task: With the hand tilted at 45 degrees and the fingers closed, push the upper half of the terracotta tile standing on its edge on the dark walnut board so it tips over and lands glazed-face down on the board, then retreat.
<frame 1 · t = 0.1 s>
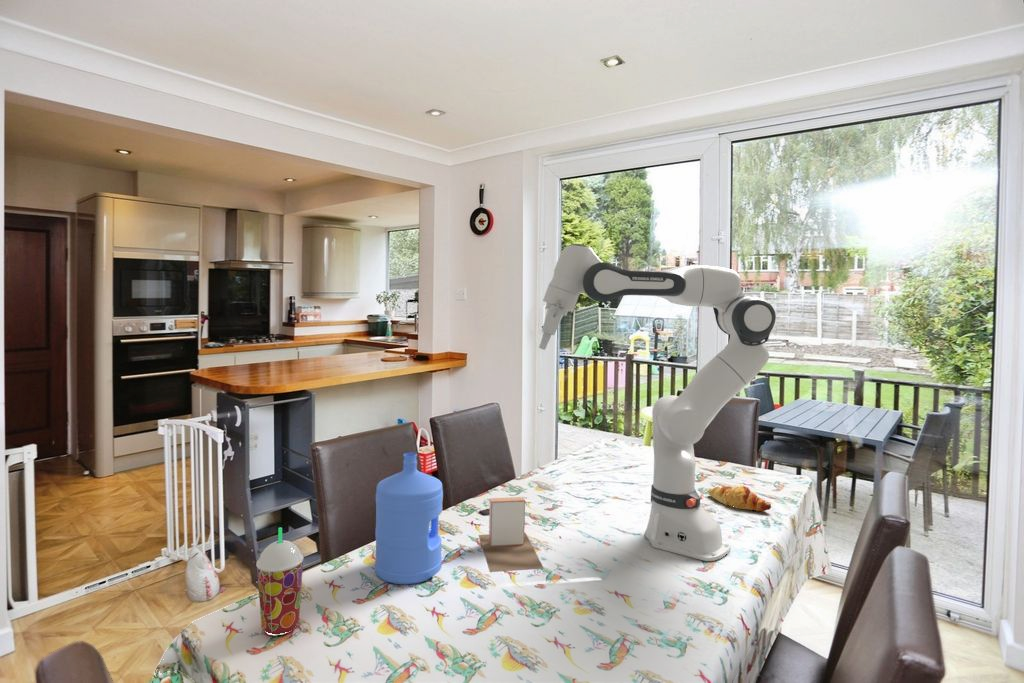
hand: (542, 347, 154), 52 cm above the table, tool tilted 20°, fingers open, 8 cm apart
water jug: (408, 570, 133), on the table
walnut board: (509, 553, 143), on the table
croissant: (738, 505, 183), on the table
terracotta tile: (506, 543, 146), point 1 cm above the table, touching walnut board
chocolate bar: (508, 520, 166), on the table
smoothie: (280, 629, 108), on the table
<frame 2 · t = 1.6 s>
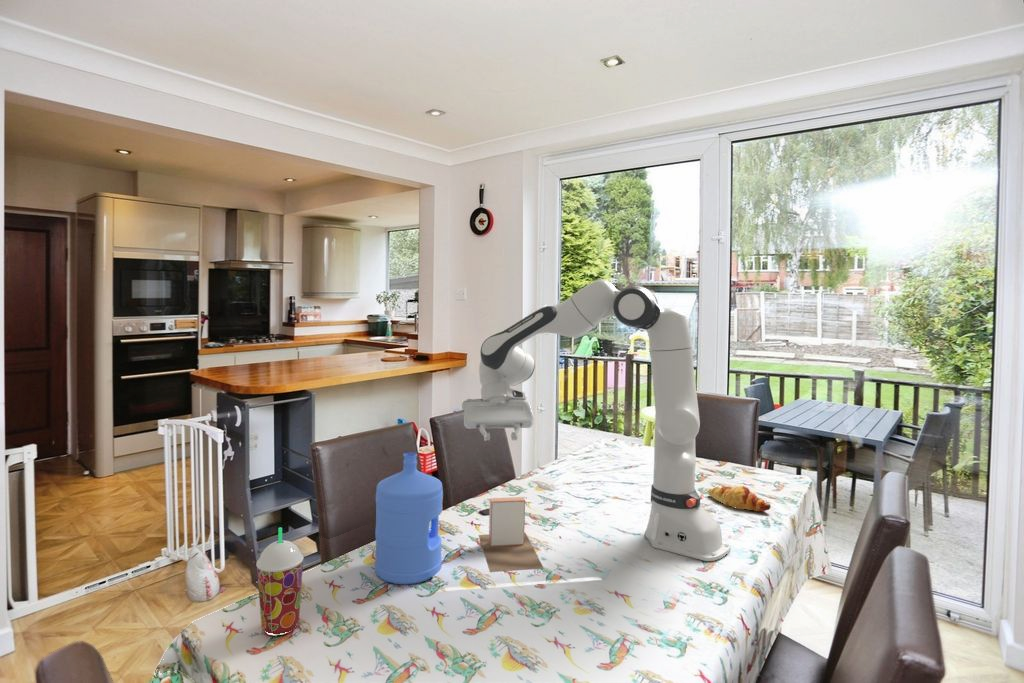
hand: (501, 439, 157), 26 cm above the table, tool tilted 45°, fingers open, 6 cm apart
nothing on the table moved.
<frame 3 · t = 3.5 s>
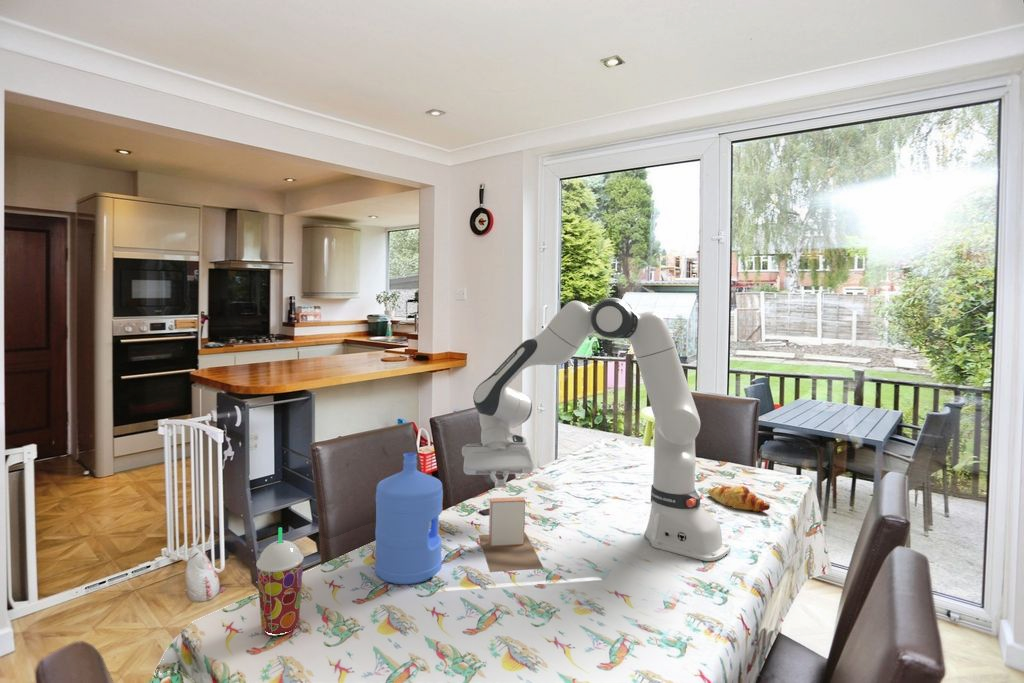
hand: (500, 486, 156), 13 cm above the table, tool tilted 45°, fingers closed
nothing on the table moved.
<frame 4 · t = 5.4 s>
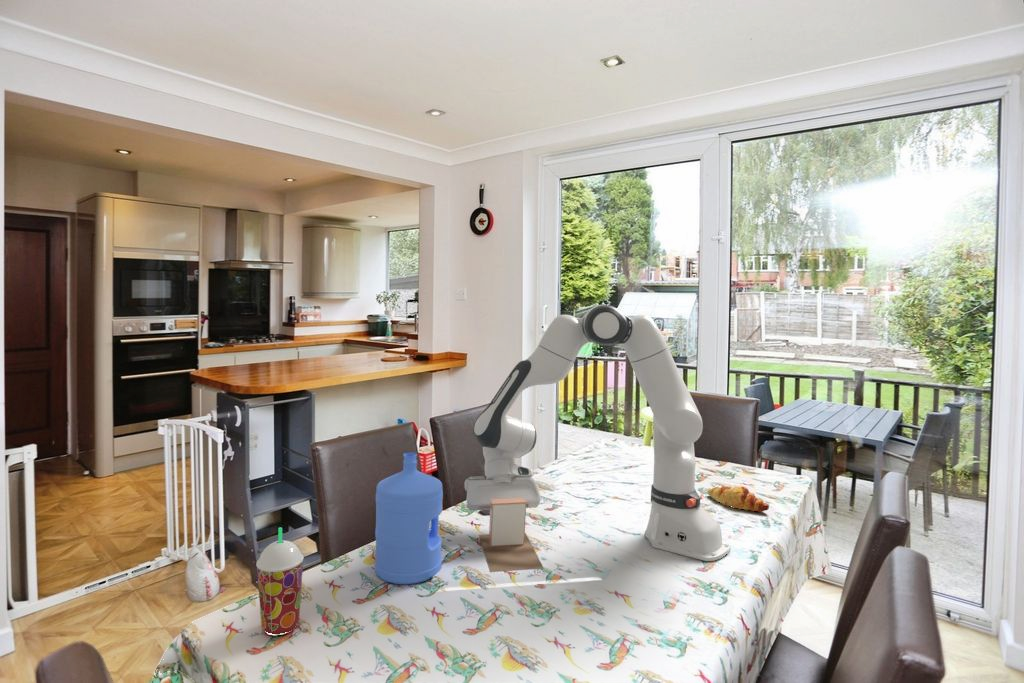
hand: (506, 523, 147), 6 cm above the table, tool tilted 45°, fingers closed
terracotta tile: (506, 543, 146), point 1 cm above the table, tilted 6°, touching walnut board
everything else where it was.
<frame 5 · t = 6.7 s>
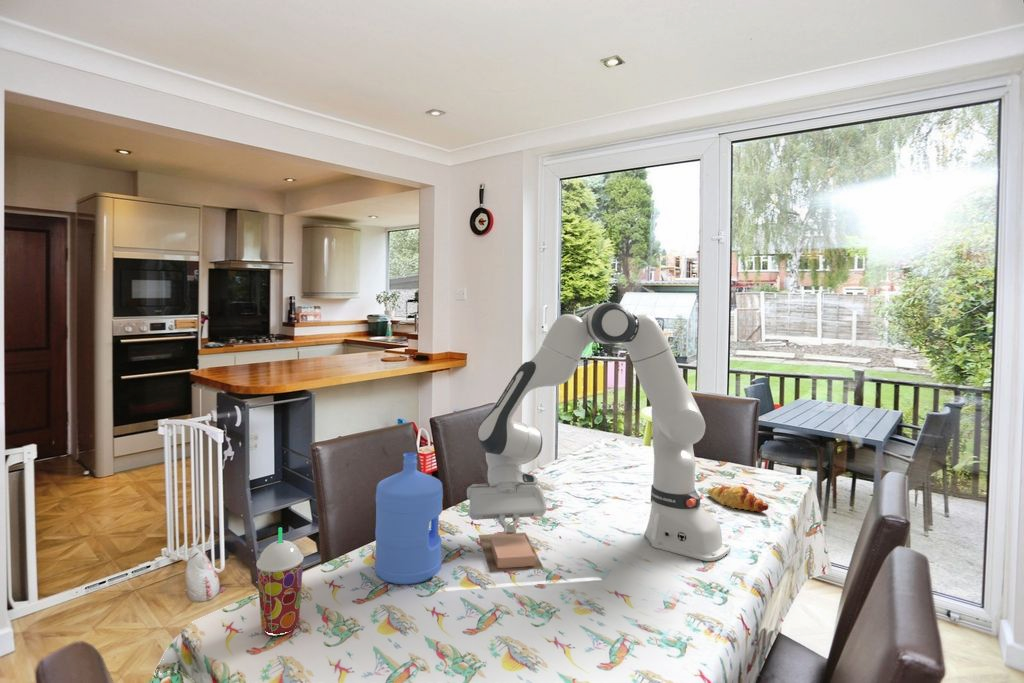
hand: (510, 533, 141), 6 cm above the table, tool tilted 45°, fingers closed
terracotta tile: (507, 540, 145), point 2 cm above the table, tilted 90°, touching walnut board
everything else where it was.
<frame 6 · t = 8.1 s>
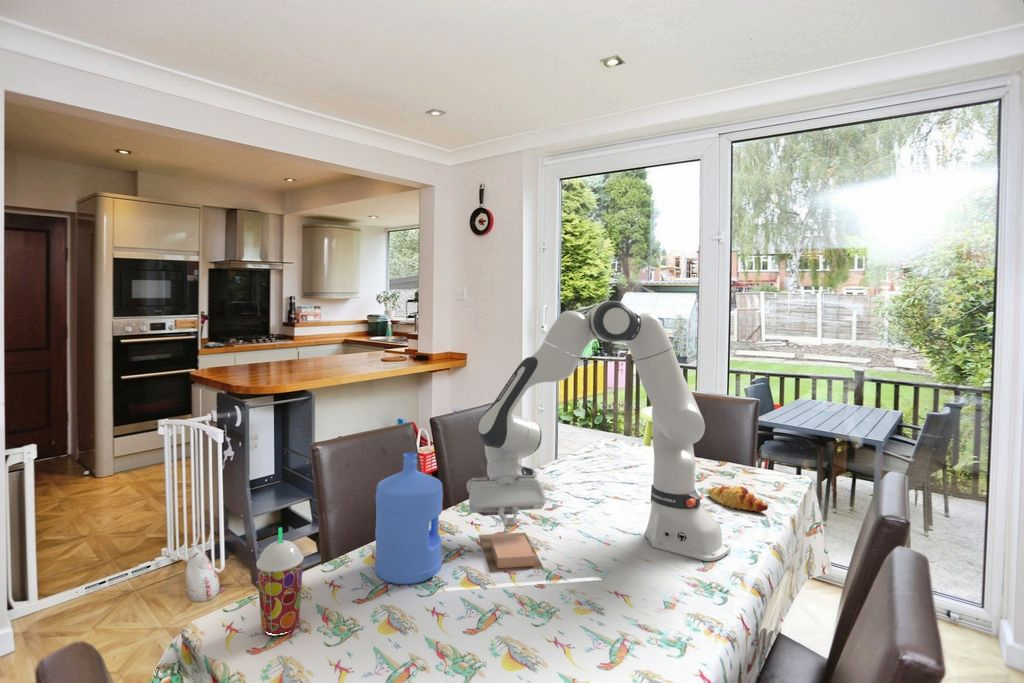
hand: (510, 525, 142), 7 cm above the table, tool tilted 45°, fingers closed
nothing on the table moved.
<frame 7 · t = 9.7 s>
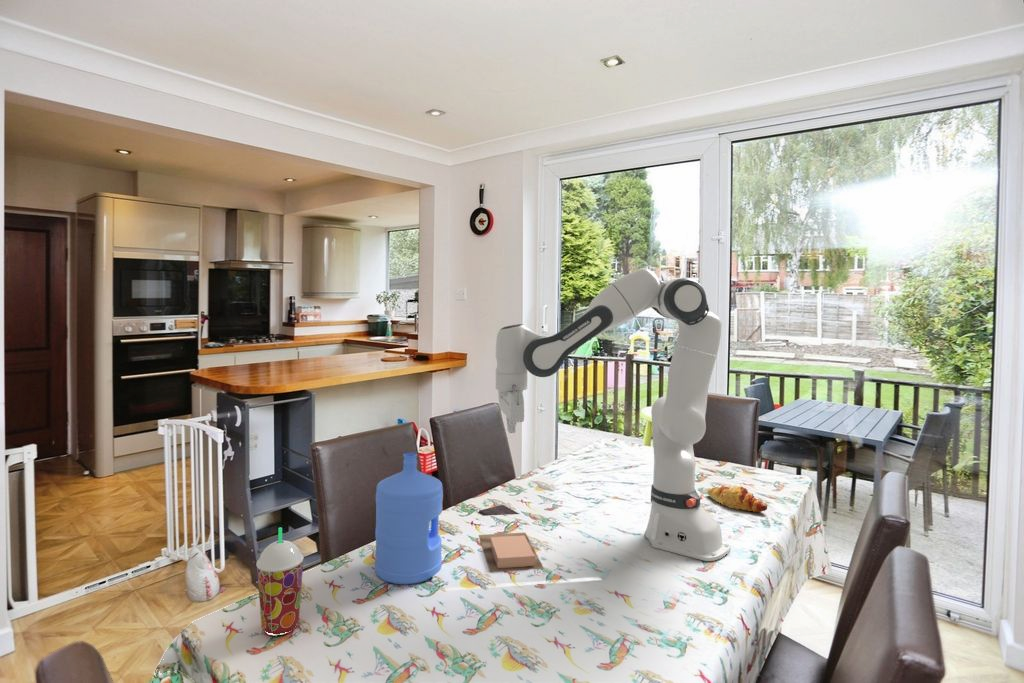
hand: (511, 432, 155), 28 cm above the table, tool pointing down, fingers closed
nothing on the table moved.
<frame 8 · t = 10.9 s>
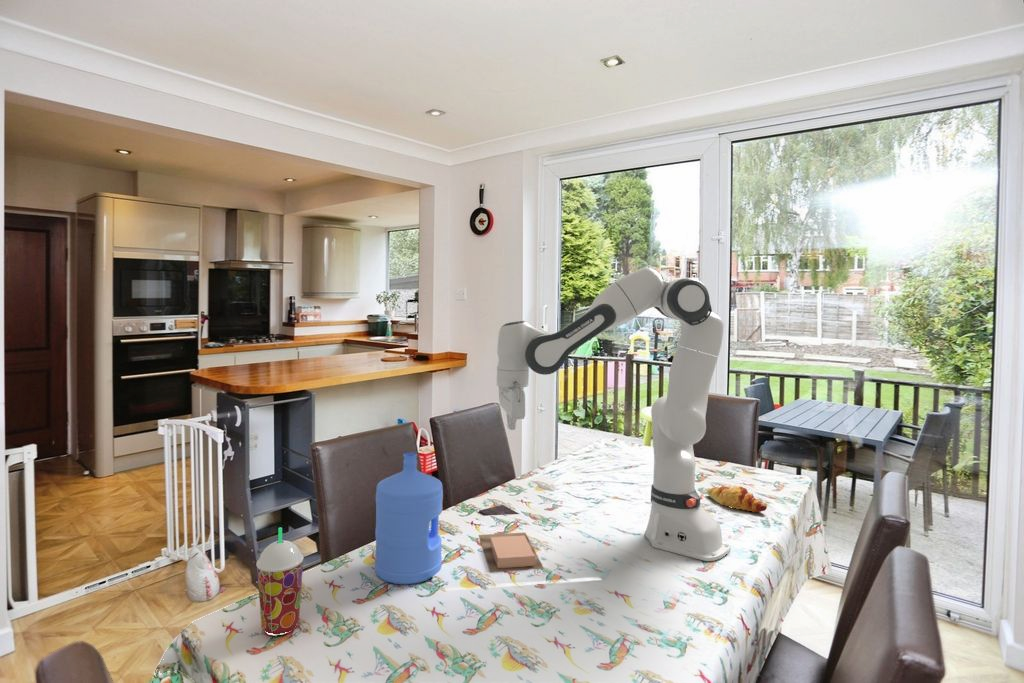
hand: (511, 428, 155), 29 cm above the table, tool pointing down, fingers closed
at the end: terracotta tile tilted 90°; terracotta tile 2.6 cm from the walnut board (horizontally); terracotta tile point 2.2 cm above the table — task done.
